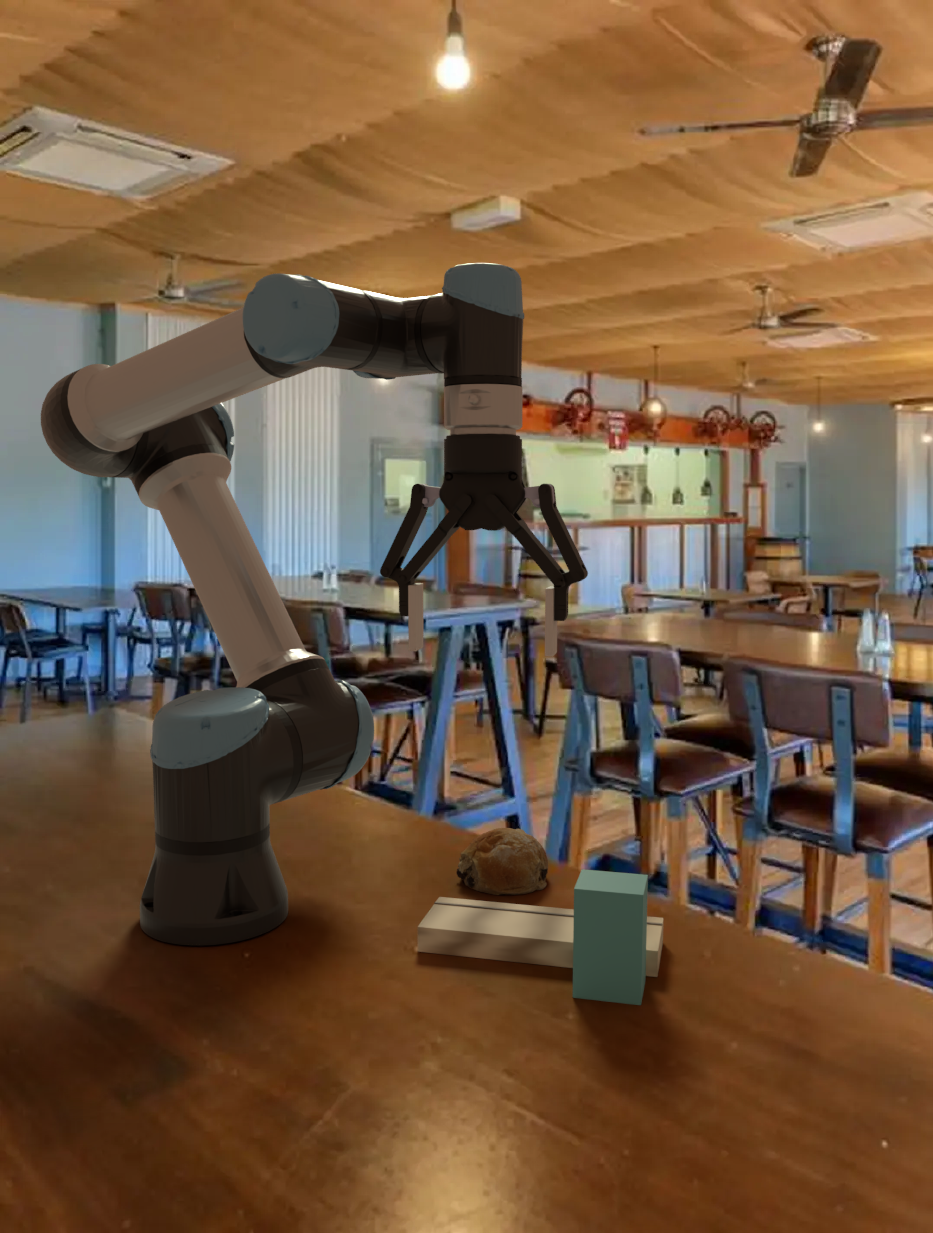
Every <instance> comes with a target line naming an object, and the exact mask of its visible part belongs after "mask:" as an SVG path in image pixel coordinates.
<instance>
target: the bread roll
mask: <svg viewBox="0 0 933 1233" xmlns="http://www.w3.org/2000/svg"><path fill="white" fill-rule="evenodd" d="M457 867H458V868H457V869H456V875H457V877H458V878H459V879H460V880H463V881H464V885H465V886H467V887H468V888H469V889H473V890H475V891H477V892H480V893H486V894H489V895H495V896H501V895H506V896H507V895H509V896H515V895H524V894H530V893H533V892H535V891H542V890H544V889H545V888H546V887H547V882H546V879H547V875H548V872H549V861H548V855H547V852H546V850H545V848H544V847H543V845H542V843H541V842H539V840H537V838H535V837H534V836H533V835H531V834H528V833H527V832H526V831H525V830H524V829H522V828H516V829H515V828H511V827H498V828H493V829H492V830H489V831H486V832H484V833H482V834H480V835H478V836H476V837H475V838H474V839H472V841H471V842H470V843H469V845H468V846H466V848H465V849H464V850H463V851H461V853H460V857H459V862H458V865H457Z"/></svg>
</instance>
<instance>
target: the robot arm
mask: <svg viewBox="0 0 933 1233" xmlns="http://www.w3.org/2000/svg"><path fill="white" fill-rule="evenodd" d="M254 284H255V286H254V288H252V290H251V291H250V292H248V293H247V295H246V298H245V301H244V304H243V307H240V308H238V309H236V310H234V311H232V312H230V313H227V314H224V315H223V316H220V317H218V318H216V319H214V320H211V321H209V322H207V323H205V324H203V325H200V326H198V327H195V328H194V329H191V330H189V331H186V332H185V333H182V334H180V335H178V336H175V337H173V338H171V339H169V340H167V341H165V342H162V343H160V344H157V345H155V346H153V347H151V348H148V349H147V350H144V351H142V352H140V353H137V354H135V355H133V356H131V357H129V358H127V359H125V360H124V359H123V360H121V361H119V362H117V363H115V364H112V365H109V364H104V363H93V364H89V365H86V366H83V367H82V368H80V369H78V370H75V371H73V372H71V373H69V374H67V375H65V376H63V377H62V378H61V379H59V380H58V381H56V382H55V383H54V384H53V385H52V386H51V388H50V389H49V390H48V392H47V394H46V395H45V398H44V400H43V402H42V405H41V410H40V427H41V431H42V435H43V437H44V440H45V442H46V445H47V446H48V447H49V449H50V451H51V452H52V454H54V456H55V457H57V459H59V461H60V462H61V463H63V464H65V465H66V467H68V468H70V469H72V470H74V471H76V472H78V473H81V474H82V475H87V476H91V477H95V478H96V477H97V478H117V479H118V478H120V479H121V478H126V479H129V480H130V481H131V482H132V485H133V487H134V489H135V491H136V493H137V496H138V498H139V500H140V502H141V503H142V504H143V505H144V506H145V507H148V508H149V509H153V510H157V511H159V512H160V515H161V518H162V520H163V522H164V524H165V526H166V528H167V530H168V533H169V535H170V537H171V540H172V541H173V544H174V546H175V548H176V551H177V553H178V554H179V557H180V559H181V562H182V564H183V565H184V568H185V570H186V573H187V574H188V577H189V579H190V581H191V583H192V586H193V587H194V589H195V592H196V594H197V596H198V598H199V600H200V603H201V605H202V608H203V610H204V612H205V614H206V616H207V619H208V621H209V623H210V626H211V627H212V630H213V631H214V634H215V636H216V639H217V641H218V643H219V645H220V646H221V647H220V648H221V649H222V651H223V653H224V655H225V658H226V660H227V662H228V664H229V667H230V669H231V670H232V673H233V675H234V678H235V680H236V686H235V687H231V686H229V687H220V688H217V689H214V690H211V689H205V690H200V691H195V692H193V693H187V694H185V695H182V696H179V697H176V698H174V699H172V700H171V701H169V702H167V703H166V704H164V705H163V706H162V707H161V708H160V709H159V710H158V711H157V712H156V714H155V715H154V719H153V721H152V732H151V733H152V734H151V735H152V736H151V738H152V739H151V745H150V749H149V751H150V759H151V760H152V780H153V781H152V782H153V783H152V784H153V807H154V808H153V812H154V814H153V816H154V836H155V837H154V841H155V842H154V843H155V844H154V845H155V847H154V848H155V850H154V854H153V858H152V861H151V865H150V867H149V871H148V873H147V874H148V875H147V878H146V882H145V885H144V887H143V891H142V894H141V897H140V901H139V902H140V903H139V924H140V928H141V930H142V932H144V933H145V934H146V935H147V936H149V937H151V938H152V939H154V940H158V941H160V942H164V943H169V944H174V945H179V946H180V945H182V946H215V945H225V944H231V943H236V942H241V941H245V940H249V939H253V938H255V937H258V936H261V935H263V934H265V933H268V932H270V931H272V930H274V929H275V928H277V927H279V926H280V925H281V924H282V923H283V922H284V921H285V920H286V919H287V917H288V914H289V892H288V887H287V885H286V883H285V879H284V877H283V874H282V870H281V869H280V865H279V863H278V860H277V857H276V855H275V852H274V849H273V846H272V843H271V835H270V834H271V832H270V831H271V830H270V827H271V826H270V825H271V824H270V806H271V805H274V804H275V805H276V804H277V803H280V802H283V801H288V800H290V799H291V800H292V799H294V798H297V797H300V796H304V795H307V794H309V793H313V792H316V791H318V790H321V791H322V790H327V789H331V788H334V786H336V785H337V784H339V783H341V782H344V781H346V780H349V779H351V778H352V777H354V776H356V775H357V774H358V773H359V772H360V771H361V770H362V768H363V767H364V766H365V765H366V763H367V761H368V760H369V757H370V754H371V752H372V747H371V746H372V744H373V742H374V740H375V723H374V722H375V720H374V715H373V711H372V709H371V706H370V704H369V701H368V699H367V697H366V695H364V693H363V692H362V691H361V689H359V688H358V687H357V686H356V685H351V683H349V682H348V681H344V680H341V679H339V680H337V679H335V678H334V675H333V674H332V671H331V669H330V668H329V666H328V664H327V662H326V660H325V658H324V657H323V656H322V655H318V654H314V653H312V652H309V651H307V650H306V649H305V646H304V644H303V642H302V640H301V637H300V635H299V634H298V631H297V629H296V627H295V625H294V623H293V620H292V618H291V617H290V615H289V612H288V610H287V608H286V606H285V604H284V602H283V600H282V597H281V595H280V594H279V592H278V589H277V587H276V585H275V583H274V581H273V579H272V576H271V574H270V572H269V570H268V567H266V564H265V562H264V560H263V557H262V556H261V553H260V551H259V549H258V547H257V545H256V543H255V541H254V539H253V536H252V534H251V533H250V531H249V529H248V525H247V524H246V521H245V520H244V518H243V516H242V513H241V512H240V509H239V507H238V505H237V502H236V501H235V499H234V497H233V495H232V492H231V490H230V488H229V486H228V484H227V481H228V478H229V476H230V474H231V472H232V463H231V461H232V458H233V455H234V450H235V443H233V441H232V438H234V437H235V430H234V426H233V422H232V419H231V417H230V414H229V412H228V411H227V408H226V407H225V406H224V404H223V403H225V402H227V401H230V400H232V399H233V400H234V399H235V398H238V397H241V396H243V395H246V394H248V393H251V392H253V391H254V392H255V391H257V390H259V389H262V388H265V387H267V386H269V385H272V384H274V383H277V382H279V381H282V380H285V379H289V378H291V377H294V376H296V375H300V374H303V373H304V372H305V373H306V372H308V371H310V370H312V369H315V368H323V367H324V368H332V369H339V370H347V371H353V373H355V375H356V376H359V377H360V378H363V379H382V380H383V379H384V380H387V381H388V380H394V379H396V378H402V377H403V378H404V377H412V376H421V375H432V374H439V375H440V374H443V418H444V419H443V426H444V428H445V429H446V430H448V431H450V434H449V435H446V436H445V438H444V439H443V475H444V476H443V482H442V484H441V486H440V487H439V486H432V485H428V484H427V483H415V484H413V486H412V487H411V494H410V502H409V507H408V509H407V511H406V514H405V515H404V518H403V520H402V521H401V525H400V527H399V528H398V531H397V532H396V535H395V537H394V539H393V542H392V544H391V545H390V548H389V549H388V552H387V554H386V556H385V559H384V561H383V562H382V564H381V567H380V569H379V574H380V575H381V576H382V577H383V578H388V579H390V580H392V581H394V582H396V583H397V585H398V612H399V615H400V616H401V617H408V622H407V623H408V624H407V625H408V652H418V651H420V650H421V649H424V583H423V582H422V583H421V582H416V581H417V579H418V578H419V576H420V575H421V574H422V572H424V570H425V568H427V566H428V565H430V563H431V562H432V560H433V559H434V558H435V556H436V555H437V554H438V553H439V552H440V550H441V549H442V548H443V547H444V546H445V544H446V543H447V542H448V541H449V539H451V537H452V536H453V534H455V533H456V532H457V531H458V530H459V529H460V528H461V529H463V530H464V531H478V530H485V531H492V532H493V531H500V530H503V529H504V528H506V530H507V531H508V532H509V533H510V534H511V535H512V536H513V537H514V539H516V541H517V542H518V543H519V544H520V545H521V547H522V548H523V549H524V550H525V551H526V553H527V554H528V555H529V556H530V558H531V559H532V560H533V561H534V563H535V564H536V565H537V566H538V567H539V569H540V570H541V571H542V572H543V574H544V575H545V576H546V577H547V578H548V580H549V581H550V582H551V583H552V585H550V586H547V587H546V588H545V589H544V590H545V593H544V594H545V597H544V602H545V603H544V607H545V608H544V609H545V610H544V657H552V658H553V657H554V656H555V655H556V654H557V653H558V622H564V621H566V620H567V618H568V616H569V589H570V587H571V585H573V584H576V583H579V582H582V581H584V580H585V579H586V578H587V577H588V574H589V572H588V571H589V570H588V568H587V567H586V565H585V563H584V561H583V559H582V556H581V554H580V553H579V550H578V548H577V546H576V544H575V542H574V540H573V538H572V536H571V533H570V532H569V529H568V528H567V525H566V524H565V522H564V519H563V517H562V515H561V513H560V511H559V509H558V507H557V499H556V498H557V497H556V489H555V488H556V487H555V486H554V485H553V484H551V483H541V484H539V485H535V486H528V487H526V486H525V484H524V481H523V439H522V438H521V436H520V435H517V431H518V430H521V429H522V428H523V378H522V368H523V366H522V365H523V364H522V362H523V334H524V319H525V313H524V307H523V306H524V305H523V304H524V303H523V288H522V285H523V281H522V278H521V275H520V274H519V272H518V271H517V270H516V269H514V268H512V267H510V266H508V265H505V264H504V265H503V264H500V263H499V264H498V263H489V262H473V263H471V262H470V263H462V264H457V265H455V266H453V267H449V268H448V269H447V270H446V271H445V273H444V275H443V286H442V287H441V290H442V292H441V293H437V294H431V295H427V296H426V295H425V296H416V297H408V298H407V297H404V298H403V297H395V296H390V295H386V294H382V293H379V292H378V293H377V292H372V291H368V290H362V289H359V288H354V287H349V286H345V285H341V284H338V283H337V284H336V283H332V282H328V281H323V280H319V279H318V278H315V277H312V276H309V275H304V274H303V275H302V274H298V273H297V274H288V273H287V274H286V273H280V272H279V273H271V274H267V275H265V276H263V277H262V278H260V279H259V280H257V281H256V282H255V283H254ZM438 499H440V502H441V503H442V504H443V506H444V507H445V508H446V511H448V512H447V513H446V514H445V516H444V517H443V518H442V519H441V521H439V523H438V525H437V527H436V528H435V529H434V531H433V532H432V533H431V534H430V535H429V537H428V538H427V539H426V541H425V542H424V543H423V544H422V545H421V547H420V548H419V549H418V550H417V552H415V554H414V555H413V557H412V558H411V559H410V560H409V561H408V562H407V564H406V565H404V567H402V565H403V564H404V561H405V559H406V557H407V555H408V552H409V551H410V549H411V546H412V544H413V542H414V540H415V539H416V536H417V534H418V532H419V530H420V528H421V526H422V523H423V521H424V519H425V518H426V515H427V513H428V510H429V508H431V507H433V506H434V504H435V503H436V501H437V500H438ZM527 499H529V500H530V501H531V502H532V505H533V507H535V508H538V509H539V508H540V512H541V515H542V516H543V519H544V521H545V524H546V526H547V528H548V529H549V532H550V534H551V537H552V538H553V540H554V542H555V544H556V546H557V549H558V551H559V553H560V554H561V556H562V560H563V562H564V563H565V566H566V568H567V569H568V571H565V570H564V569H563V568H562V566H560V564H558V561H557V560H555V557H553V555H551V553H550V552H549V551H548V549H547V548H546V547H545V546H544V544H543V543H542V542H541V541H540V540H539V538H537V536H536V534H534V532H533V531H532V530H531V529H530V528H529V525H528V523H526V521H525V520H524V519H523V517H521V515H520V514H519V513H518V511H519V510H520V509H521V507H522V506H523V505H524V503H525V501H526V500H527ZM415 582H416V583H415Z"/></svg>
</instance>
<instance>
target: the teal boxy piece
mask: <svg viewBox="0 0 933 1233" xmlns="http://www.w3.org/2000/svg"><path fill="white" fill-rule="evenodd" d="M648 876H649V875H648V874H641V873H631V872H629V873H628V872H615V871H605V870H595V869H584V868H582V869H581V870H580V873H579V875H578V878H577V880H576V883H575V884H574V888H573V909H574V929H573V968H572V998H574V999H582V1000H590V1001H591V1000H592V1001H597V1002H599V1001H601V1002H610V1003H618V1004H626V1005H637V1006H641V1005H642V1002H643V1001H642V1000H643V997H644V990H645V987H646V979H647V978H646V977H647V976H646V936H647V916H648V886H649V884H648V883H649V882H648V881H649V880H648V879H649V878H648Z"/></svg>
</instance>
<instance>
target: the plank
mask: <svg viewBox="0 0 933 1233" xmlns="http://www.w3.org/2000/svg"><path fill="white" fill-rule="evenodd" d="M433 903H434V904H433V905H432V906H431V908H430V910H429V911H428V912H426V914H425V916H424V917H423V919H422V920H420V921H421V922H420V923H419V924H418V925H417V952H418V953H420V952H421V953H429V954H438V955H447V956H457V957H465V958H466V957H467V958H473V959H474V958H476V959H483V960H484V959H485V960H493V961H503V962H512V963H513V962H514V963H521V964H522V963H523V964H533V965H540V966H549V967H550V966H551V967H561V968H568V969H573V929H574V908H564V907H563V908H561V907H551V906H543V905H542V906H540V905H539V906H538V905H529V904H520V903H519V904H518V903H517V904H516V903H509V902H499V901H498V902H497V901H488V900H487V901H486V900H476V899H468V898H467V899H466V898H454V897H445V896H439V897H438V898H437V899H436V901H434V902H433ZM663 944H664V917H657V916H648V915H647V936H646V977H651V978H652V977H654V978H658V976H659V969H660V965H661V964H660V963H661V957H662V952H663V951H662V950H663Z"/></svg>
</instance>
